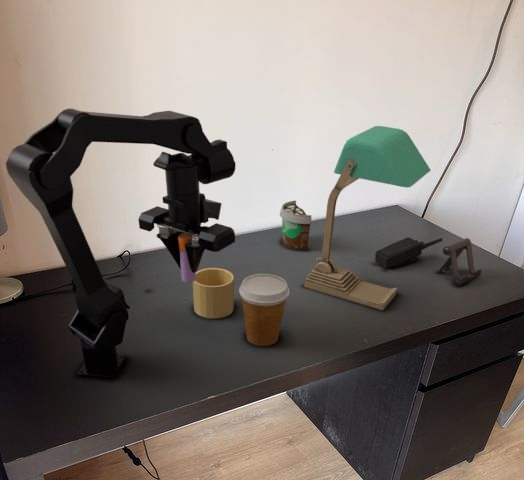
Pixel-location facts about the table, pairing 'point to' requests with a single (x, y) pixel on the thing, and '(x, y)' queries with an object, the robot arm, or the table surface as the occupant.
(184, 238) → the glue stick
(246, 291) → the disposable coffee cup
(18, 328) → the table surface
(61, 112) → the robot arm
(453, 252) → the tablet stand
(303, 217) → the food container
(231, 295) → the pen pot
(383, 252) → the walkie-talkie
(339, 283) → the banker's lamp
